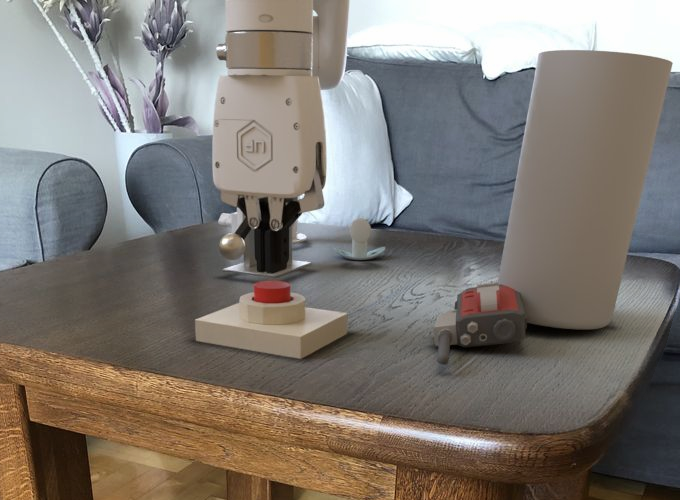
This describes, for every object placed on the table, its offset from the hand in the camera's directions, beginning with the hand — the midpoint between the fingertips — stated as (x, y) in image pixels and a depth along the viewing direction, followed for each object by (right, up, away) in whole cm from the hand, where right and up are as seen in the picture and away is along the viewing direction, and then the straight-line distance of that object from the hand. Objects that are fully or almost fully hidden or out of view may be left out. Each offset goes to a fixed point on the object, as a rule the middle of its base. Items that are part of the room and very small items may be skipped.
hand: (272, 270), depth 80 cm
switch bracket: (-2, +8, +30) cm, 31 cm away
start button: (0, -3, +2) cm, 3 cm away
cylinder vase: (+30, -3, +9) cm, 31 cm away
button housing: (0, -6, +3) cm, 7 cm away
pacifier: (+11, +11, +37) cm, 40 cm away
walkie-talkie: (+21, -7, +1) cm, 22 cm away
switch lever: (-4, +12, +25) cm, 28 cm away
